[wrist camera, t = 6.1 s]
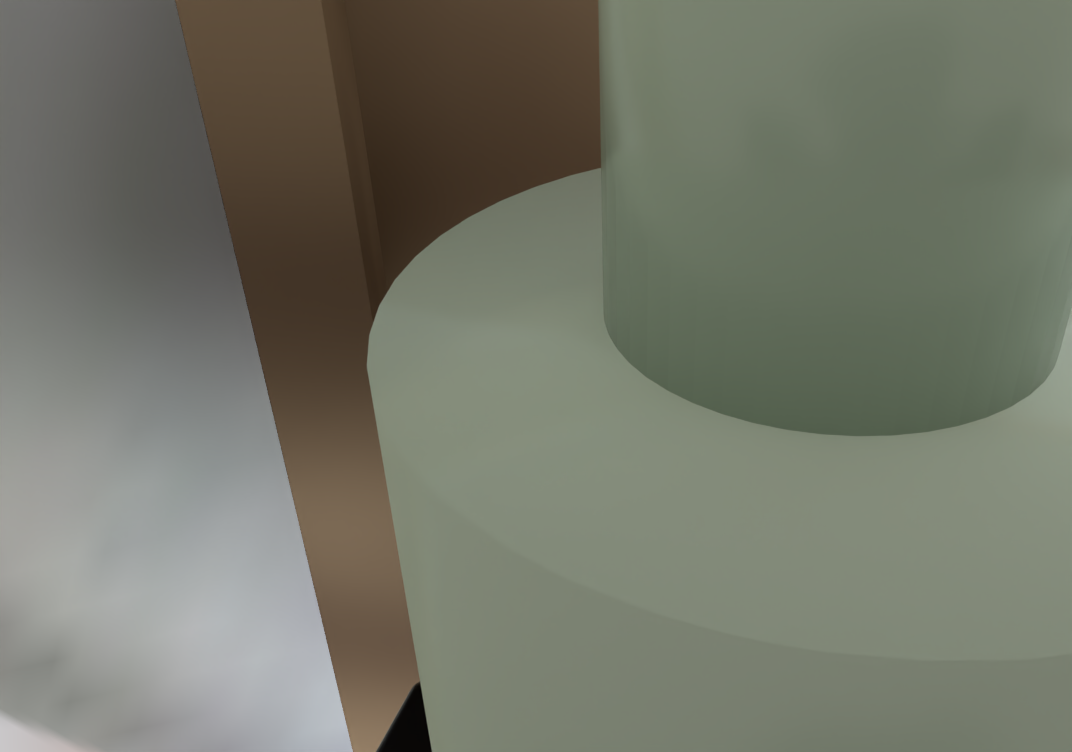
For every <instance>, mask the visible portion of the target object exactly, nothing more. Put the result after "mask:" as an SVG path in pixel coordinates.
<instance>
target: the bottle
mask: <svg viewBox="0 0 1072 752" xmlns="http://www.w3.org/2000/svg"><path fill="white" fill-rule="evenodd" d="M598 14H599V75H600V137H601V168H598V169H594V170H590V171H586V172H582V173H578V174H574V175H570V176H567V177H564V178H561V179H558V180H555V181H552V182H549V183H546V184H543V185H539V186H536V187H534V188H531V189H529V190H526V191H524V192H521V193H519V194H516V195H514V196H511V197H509V198H507V199H504V200H502V201H499V202H497V203H496V204H494V205H492V206H490V207H488V208H486V209H484V210H482V211H480V212H478V213H476V214H474V215H472V216H470V217H468V218H467V219H465V220H464V221H462V222H461V223H459V224H458V225H456V226H454V227H453V228H451V229H450V230H448V231H447V232H445V233H444V234H442V235H441V236H439V237H438V238H437V239H436V240H435V241H433V242H432V243H431V244H430V245H429V246H427V247H426V248H425V249H424V250H423V251H421V252H420V253H419V254H418V255H417V256H415V258H414V259H413V260H412V261H411V262H410V263H409V264H408V266H407V267H406V268H405V269H404V270H403V271H402V272H401V273H400V275H399V276H398V277H397V278H396V279H395V280H394V282H393V284H392V285H391V287H390V289H389V290H388V292H387V294H386V295H385V297H384V299H383V300H382V302H381V304H380V305H379V308H378V310H377V313H376V316H375V319H374V322H373V325H372V328H371V331H370V334H369V344H368V356H367V371H368V377H369V382H370V388H371V394H372V400H373V406H374V412H375V418H376V424H377V430H378V436H379V442H380V448H381V453H382V459H383V465H384V471H385V477H386V483H387V489H388V495H389V501H390V507H391V513H392V518H393V524H394V530H395V536H396V542H397V548H398V554H399V560H400V566H401V572H402V578H403V583H404V589H405V595H406V601H407V607H408V613H409V619H410V625H411V631H412V637H413V643H414V648H415V654H416V660H417V666H418V672H419V678H420V684H421V690H422V696H423V702H424V708H425V713H426V719H427V725H428V731H429V737H430V743H431V749H432V752H1072V0H598Z"/></svg>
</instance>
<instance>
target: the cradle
mask: <svg viewBox="0 0 1072 752" xmlns="http://www.w3.org/2000/svg"><path fill="white" fill-rule="evenodd" d="M175 2H176V6H177V10H178V14H179V19H180V23H181V27H182V31H183V36H184V40H185V44H186V48H187V52H188V57H189V61H190V65H191V69H192V74H193V78H194V82H195V86H196V90H197V95H198V99H199V103H200V107H201V112H202V116H203V120H204V124H205V128H206V133H207V137H208V141H209V145H210V150H211V154H212V158H213V162H214V166H215V171H216V175H217V179H218V183H219V188H220V192H221V196H222V200H223V204H224V209H225V213H226V217H227V221H228V226H229V230H230V234H231V238H232V242H233V247H234V251H235V255H236V259H237V264H238V268H239V272H240V276H241V280H242V285H243V289H244V293H245V297H246V302H247V306H248V310H249V314H250V318H251V323H252V327H253V331H254V335H255V340H256V344H257V348H258V352H259V357H260V361H261V365H262V369H263V373H264V378H265V382H266V386H267V390H268V395H269V399H270V403H271V407H272V411H273V416H274V420H275V424H276V428H277V433H278V437H279V441H280V445H281V449H282V454H283V458H284V462H285V466H286V471H287V475H288V479H289V483H290V487H291V492H292V496H293V500H294V504H295V509H296V513H297V517H298V521H299V525H300V530H301V534H302V538H303V542H304V547H305V551H306V555H307V559H308V563H309V568H310V572H311V576H312V580H313V585H314V589H315V593H316V597H317V601H318V606H319V610H320V614H321V618H322V623H323V627H324V631H325V635H326V639H327V644H328V648H329V652H330V656H331V661H332V665H333V669H334V673H335V677H336V682H337V686H338V690H339V694H340V699H341V703H342V707H343V711H344V715H345V720H346V724H347V728H348V732H349V737H350V741H351V745H352V749H353V752H376V750H377V749H378V747H379V745H380V743H381V742H382V740H383V738H384V736H385V734H386V733H387V731H388V729H389V727H390V726H391V724H392V722H393V720H394V718H395V717H396V715H397V713H398V711H399V709H400V708H401V706H402V704H403V702H404V701H405V699H406V697H407V695H408V693H409V692H410V690H411V689H412V687H413V686H414V685H415V684H416V683H418V682H420V678H419V672H418V666H417V660H416V654H415V648H414V643H413V637H412V631H411V625H410V619H409V613H408V607H407V601H406V595H405V589H404V583H403V578H402V572H401V566H400V560H399V554H398V548H397V542H396V536H395V530H394V524H393V518H392V513H391V507H390V501H389V495H388V489H387V483H386V477H385V471H384V465H383V459H382V453H381V448H380V442H379V436H378V430H377V424H376V418H375V412H374V406H373V400H372V394H371V388H370V382H369V377H368V371H367V356H368V344H369V334H370V331H371V328H372V325H373V322H374V319H375V316H376V313H377V310H378V308H379V305H380V304H381V302H382V300H383V299H384V297H385V295H386V294H387V292H388V290H389V289H390V287H391V285H392V284H393V282H394V280H395V279H396V278H397V277H398V276H399V275H400V273H401V272H402V271H403V270H404V269H405V268H406V267H407V266H408V264H409V263H410V262H411V261H412V260H413V259H414V258H415V256H417V255H418V254H419V253H420V252H421V251H423V250H424V249H425V248H426V247H427V246H429V245H430V244H431V243H432V242H433V241H435V240H436V239H437V238H438V237H439V236H441V235H442V234H444V233H445V232H447V231H448V230H450V229H451V228H453V227H454V226H456V225H458V224H459V223H461V222H462V221H464V220H465V219H467V218H468V217H470V216H472V215H474V214H476V213H478V212H480V211H482V210H484V209H486V208H488V207H490V206H492V205H494V204H496V203H497V202H499V201H502V200H504V199H507V198H509V197H511V196H514V195H516V194H519V193H521V192H524V191H526V190H529V189H531V188H534V187H536V186H539V185H543V184H546V183H549V182H552V181H555V180H558V179H561V178H564V177H567V176H570V175H574V174H578V173H582V172H586V171H590V170H594V169H598V168H601V137H600V75H599V14H598V0H175Z"/></svg>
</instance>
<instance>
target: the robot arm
mask: <svg viewBox="0 0 1072 752" xmlns="http://www.w3.org/2000/svg"><path fill="white" fill-rule="evenodd" d="M376 752H432V749H431V743H430V737H429V731H428V725H427V719H426V713H425V708H424V702H423V696H422V690H421V684H420V682H418V683H416V684H415V685H414V686H413V687H412V689H411V690H410V692H409V693H408V695H407V697H406V699H405V701H404V702H403V704H402V706H401V708H400V709H399V711H398V713H397V715H396V717H395V718H394V720H393V722H392V724H391V726H390V727H389V729H388V731H387V733H386V734H385V736H384V738H383V740H382V742H381V743H380V745H379V747H378V749H377V750H376Z"/></svg>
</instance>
